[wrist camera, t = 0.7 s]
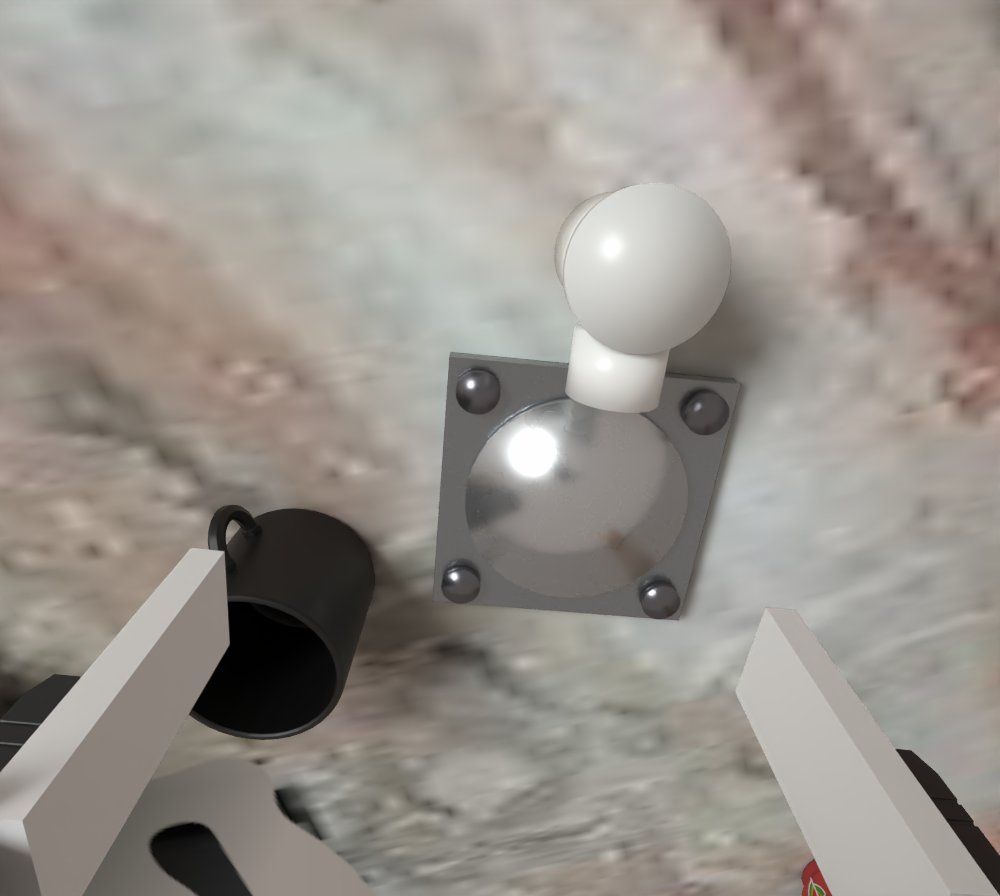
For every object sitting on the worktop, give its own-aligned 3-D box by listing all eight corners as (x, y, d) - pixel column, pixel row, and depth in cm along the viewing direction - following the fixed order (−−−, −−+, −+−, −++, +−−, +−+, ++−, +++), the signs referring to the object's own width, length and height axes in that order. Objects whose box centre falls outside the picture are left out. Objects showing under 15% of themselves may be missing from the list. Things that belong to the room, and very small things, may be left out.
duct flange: (450, 352, 34) (448, 359, 32) (734, 379, 34) (745, 388, 33) (434, 591, 40) (431, 608, 38) (674, 610, 41) (681, 627, 39)
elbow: (557, 178, 30) (578, 173, 23) (687, 192, 31) (750, 192, 23) (535, 360, 34) (546, 407, 26) (652, 371, 34) (695, 421, 27)
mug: (325, 450, 36) (273, 529, 28) (397, 609, 40) (371, 718, 32) (181, 493, 37) (89, 580, 29) (267, 643, 41) (209, 757, 33)
